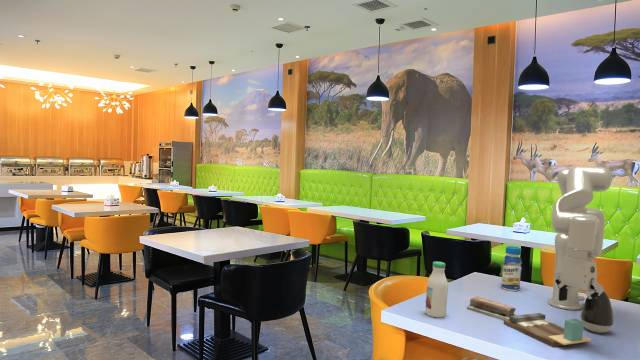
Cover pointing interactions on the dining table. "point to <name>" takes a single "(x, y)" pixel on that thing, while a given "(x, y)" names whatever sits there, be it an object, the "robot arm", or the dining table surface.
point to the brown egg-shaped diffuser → (598, 315)
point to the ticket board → (536, 327)
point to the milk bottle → (437, 292)
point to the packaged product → (491, 308)
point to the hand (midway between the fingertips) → (575, 305)
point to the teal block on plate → (571, 333)
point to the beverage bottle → (511, 269)
